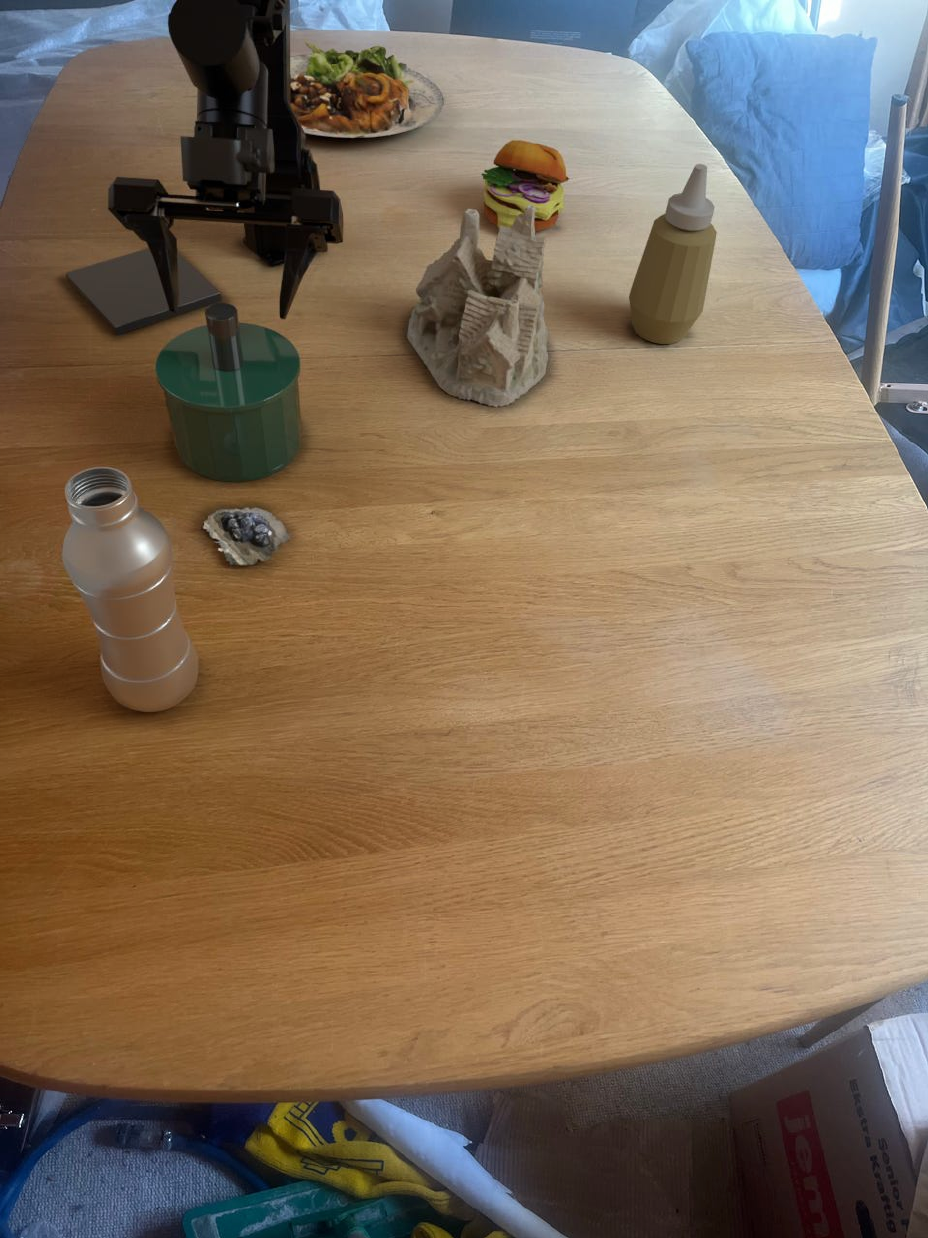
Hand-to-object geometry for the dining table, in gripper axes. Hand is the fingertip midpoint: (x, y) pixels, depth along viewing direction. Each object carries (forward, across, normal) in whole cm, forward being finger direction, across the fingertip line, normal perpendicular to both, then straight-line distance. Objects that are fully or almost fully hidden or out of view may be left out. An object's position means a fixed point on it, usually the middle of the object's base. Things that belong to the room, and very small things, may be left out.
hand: (228, 315), depth 82 cm
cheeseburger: (-22, +28, +38) cm, 53 cm away
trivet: (-7, -13, +23) cm, 28 cm away
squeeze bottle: (-6, +43, +22) cm, 48 cm away
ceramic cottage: (-1, +22, +18) cm, 28 cm away
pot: (+10, 0, +7) cm, 12 cm away
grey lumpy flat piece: (+19, +2, -2) cm, 19 cm away
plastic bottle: (+30, -2, -13) cm, 33 cm away
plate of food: (-41, +5, +58) cm, 71 cm away
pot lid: (+4, 0, +1) cm, 4 cm away
